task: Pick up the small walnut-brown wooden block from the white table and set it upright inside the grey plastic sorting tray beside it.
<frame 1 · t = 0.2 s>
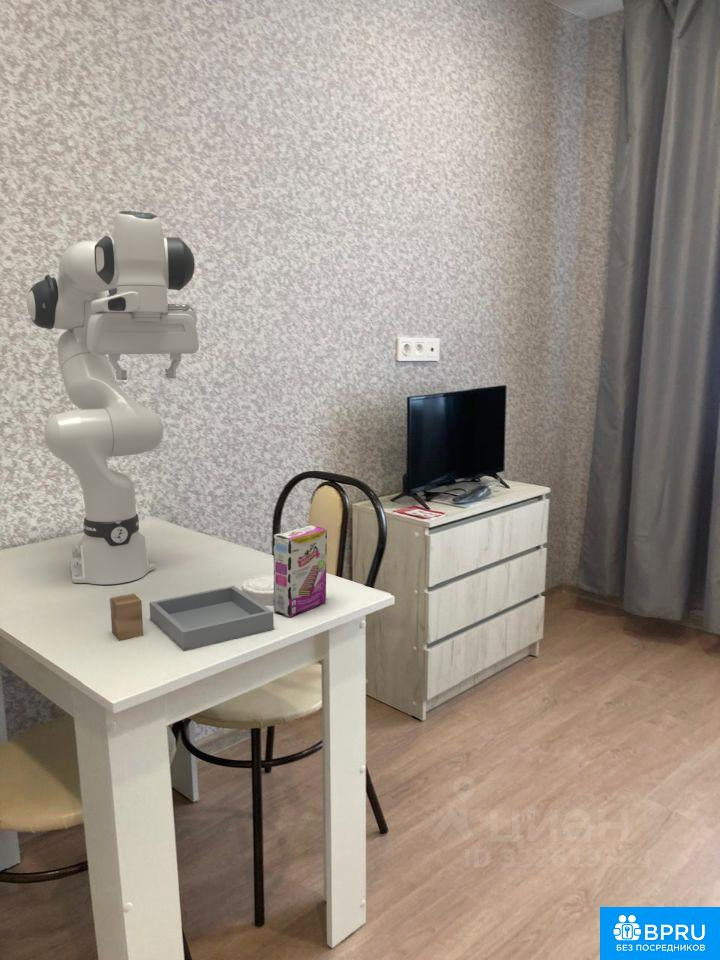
hand: (146, 379, 139), 47 cm above the table, fingers open, 8 cm apart
sorting tray: (210, 624, 145), on the table
mooncake: (270, 597, 160), on the table
walnut block: (127, 634, 140), on the table
candy bar box: (301, 608, 153), on the table
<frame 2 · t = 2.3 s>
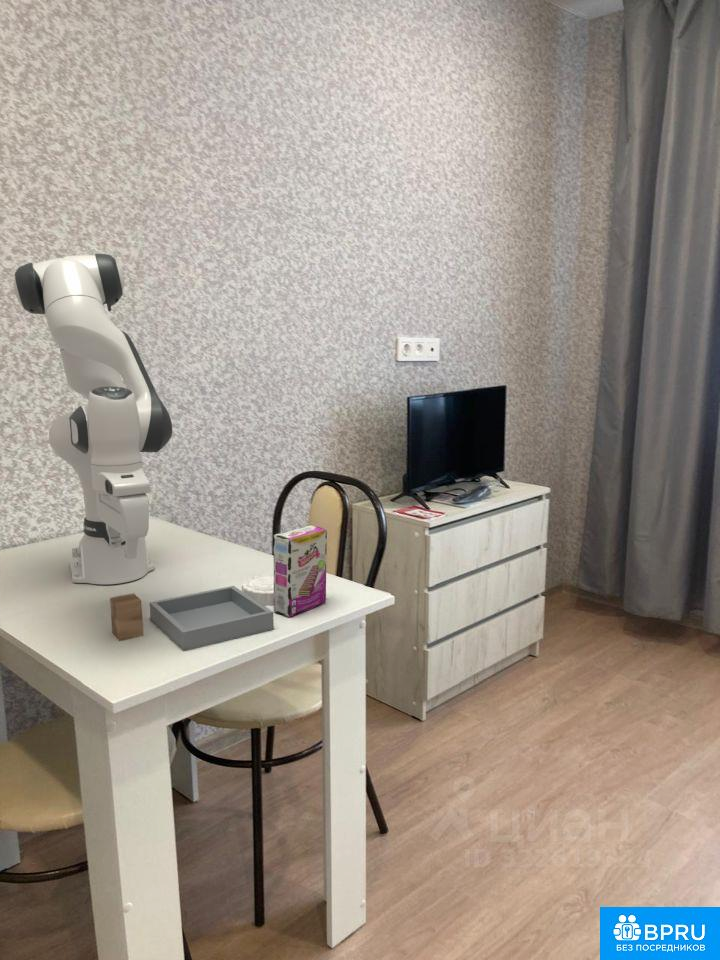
hand: (123, 552, 136), 16 cm above the table, fingers open, 8 cm apart
nothing on the table moved.
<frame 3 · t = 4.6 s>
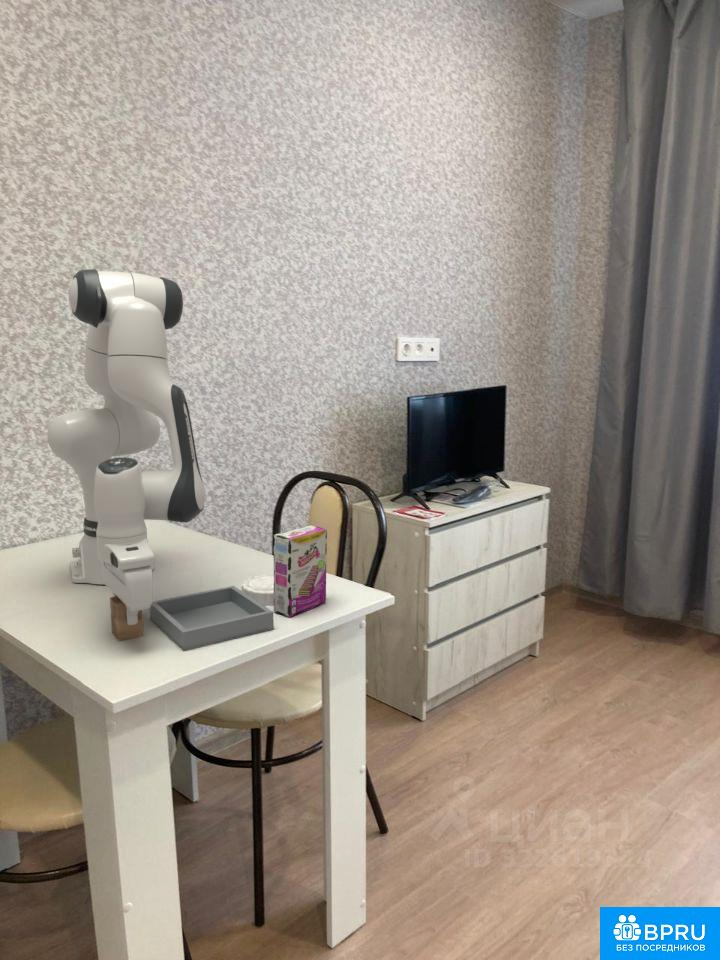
hand: (126, 618, 139), 3 cm above the table, fingers closed on walnut block, 4 cm apart
walnut block: (127, 634, 140), on the table, touching gripper
everything else where it was.
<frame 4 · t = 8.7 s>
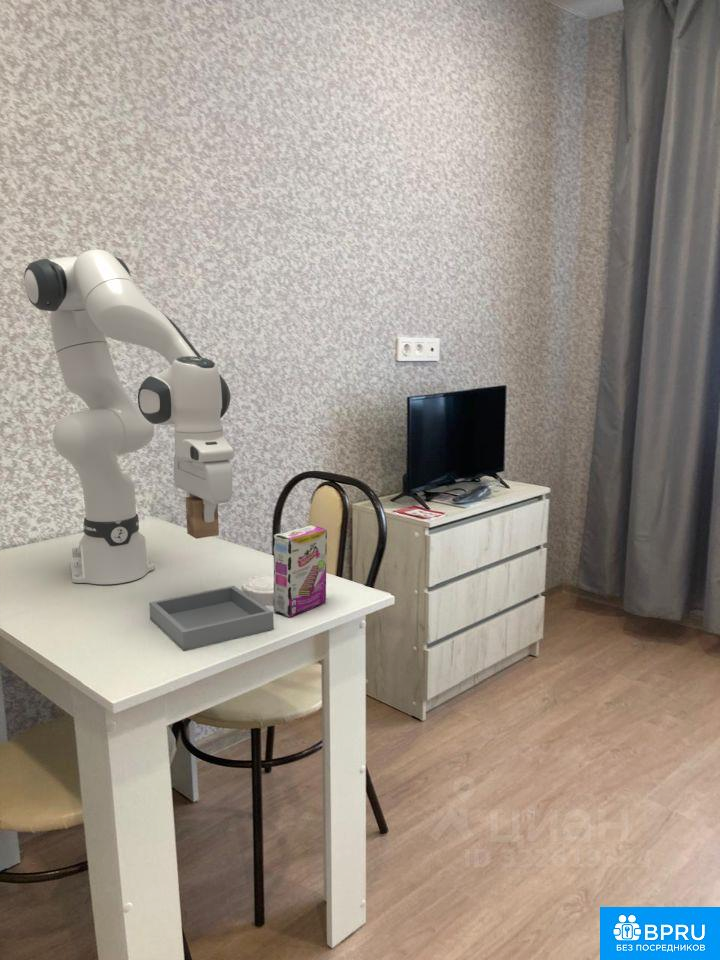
hand: (202, 518, 140), 21 cm above the table, fingers closed on walnut block, 4 cm apart
walnut block: (202, 534, 141), point 18 cm above the table, touching gripper
everything else where it was.
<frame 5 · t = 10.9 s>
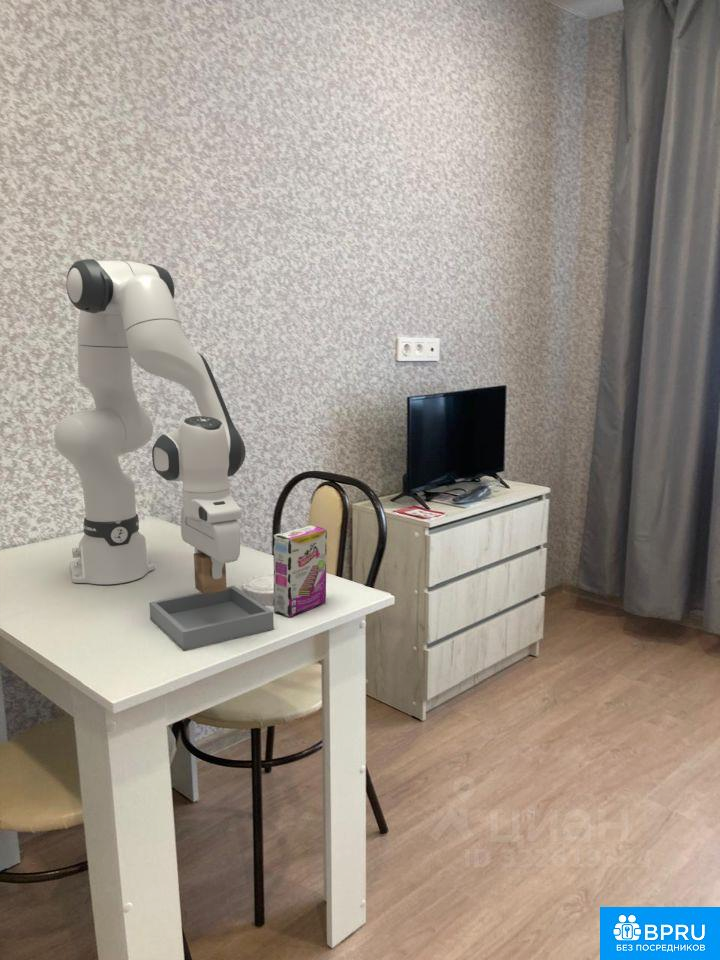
hand: (210, 573, 142), 10 cm above the table, fingers closed on walnut block, 4 cm apart
walnut block: (210, 589, 143), point 7 cm above the table, touching gripper
everything else where it was.
when the fingers open (5 cm above the table, at t = 12.7 s): walnut block drops 1 cm, resting on sorting tray.
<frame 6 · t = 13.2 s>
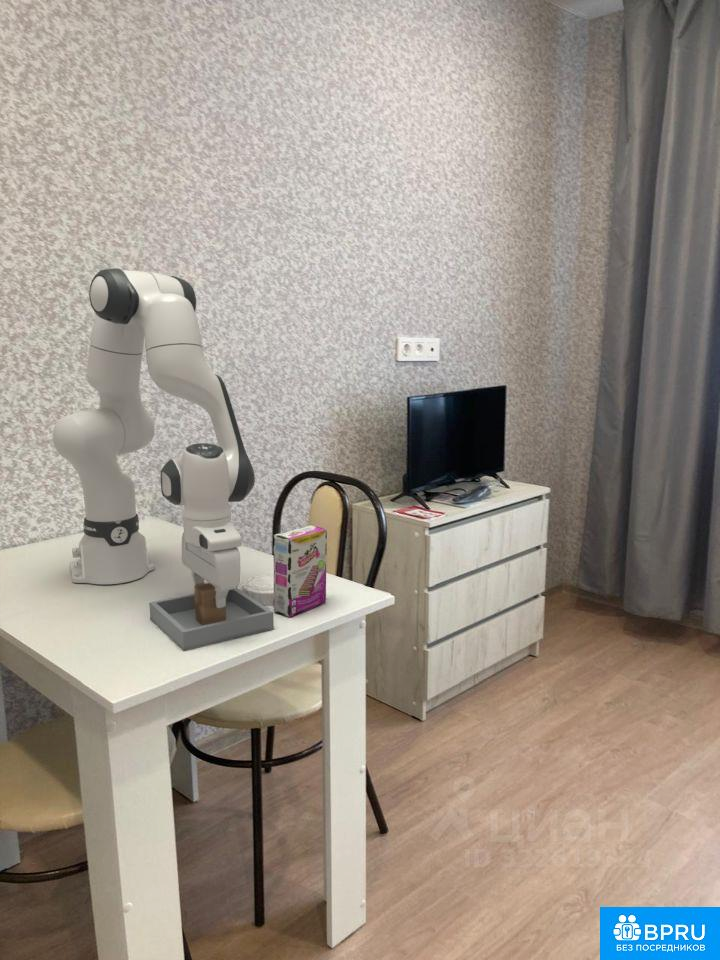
hand: (210, 599, 144), 5 cm above the table, fingers open, 8 cm apart
walnut block: (210, 621, 144), point 1 cm above the table, touching sorting tray
everything else where it was.
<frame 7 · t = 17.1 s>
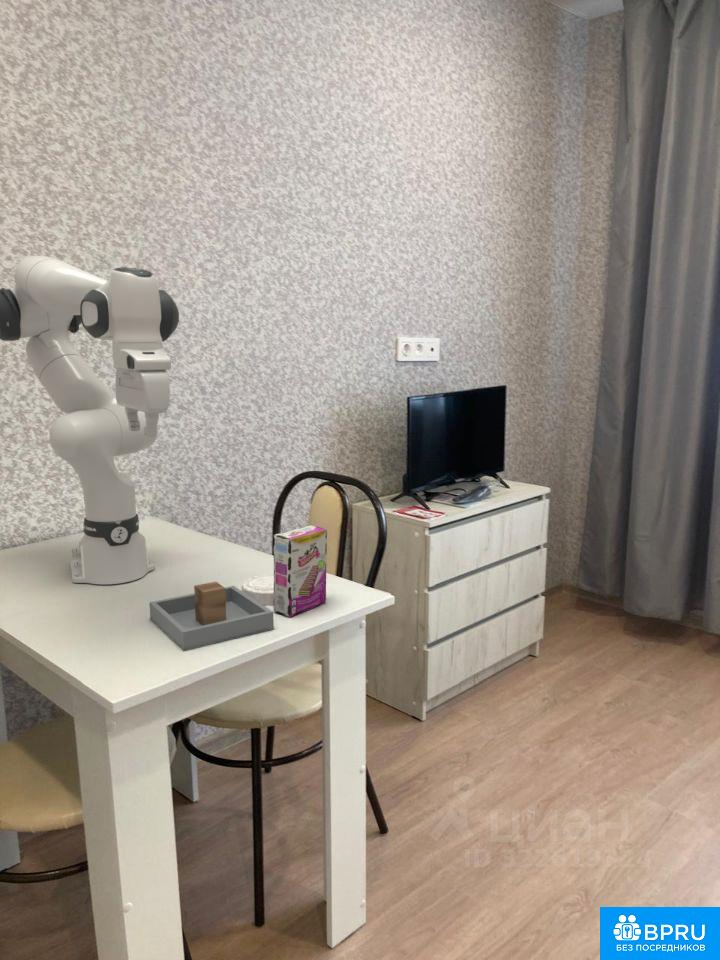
hand: (142, 433, 139), 37 cm above the table, fingers open, 8 cm apart
nothing on the table moved.
at the end: walnut block inside the target area on the sorting tray (0.1 cm from its centre), point 0.6 cm above the sorting tray's base; walnut block tilted 0°; the gripper is holding nothing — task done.
